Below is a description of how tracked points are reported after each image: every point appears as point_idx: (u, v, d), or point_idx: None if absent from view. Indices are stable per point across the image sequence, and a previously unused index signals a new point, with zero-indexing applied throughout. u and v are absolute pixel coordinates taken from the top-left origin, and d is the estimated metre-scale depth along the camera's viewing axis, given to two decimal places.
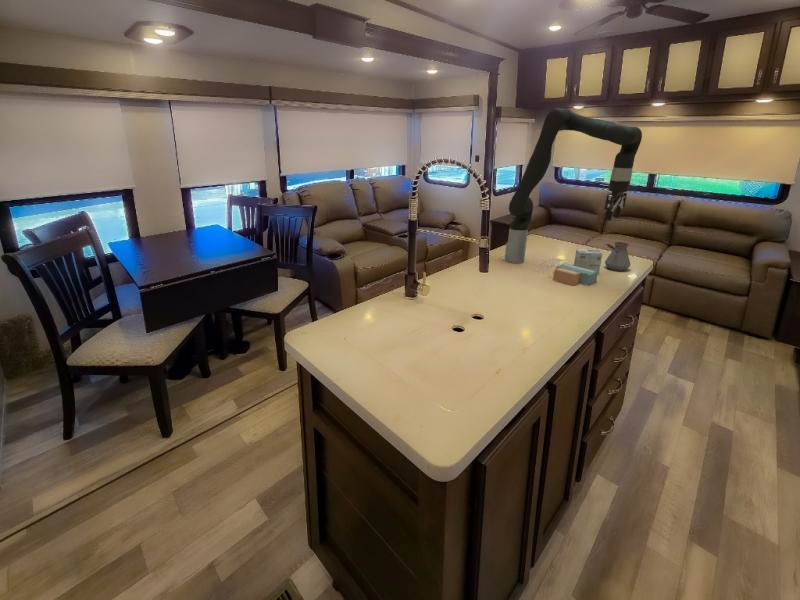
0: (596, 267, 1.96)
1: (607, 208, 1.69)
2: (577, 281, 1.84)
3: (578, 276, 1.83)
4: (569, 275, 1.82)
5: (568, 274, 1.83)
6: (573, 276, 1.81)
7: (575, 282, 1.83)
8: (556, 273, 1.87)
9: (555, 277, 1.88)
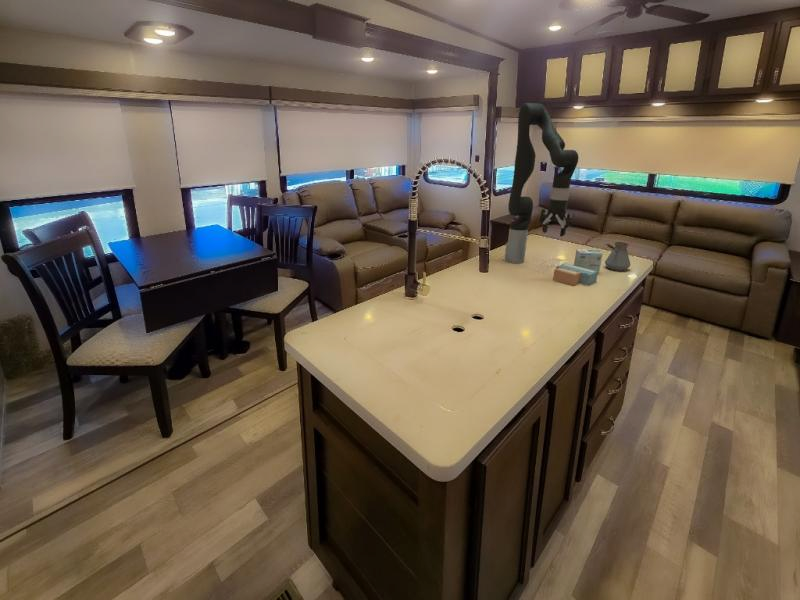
0: (596, 267, 1.96)
1: (569, 225, 1.80)
2: (577, 281, 1.84)
3: (578, 276, 1.83)
4: (569, 275, 1.82)
5: (568, 274, 1.83)
6: (573, 276, 1.81)
7: (575, 282, 1.83)
8: (556, 273, 1.87)
9: (555, 277, 1.88)
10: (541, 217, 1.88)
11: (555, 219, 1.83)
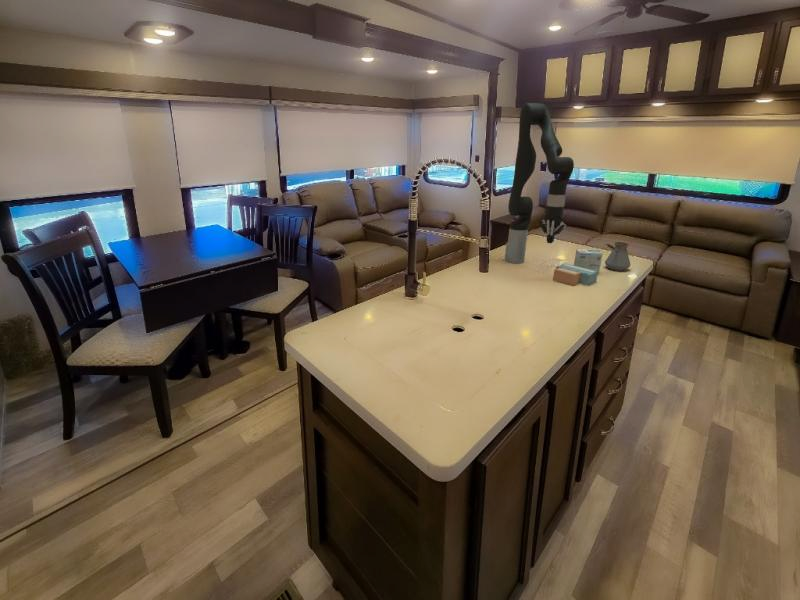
0: (596, 267, 1.96)
1: None
2: (577, 281, 1.84)
3: (578, 276, 1.83)
4: (569, 275, 1.82)
5: (568, 274, 1.83)
6: (573, 276, 1.81)
7: (575, 282, 1.83)
8: (556, 273, 1.87)
9: (555, 277, 1.88)
10: (543, 228, 1.88)
11: (550, 223, 1.85)
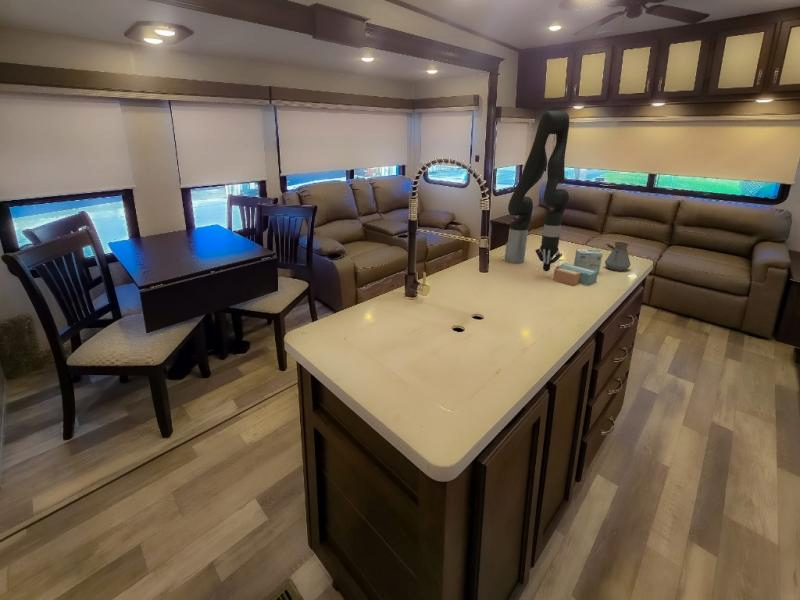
0: (596, 267, 1.96)
1: (553, 261, 1.89)
2: (577, 281, 1.84)
3: (578, 276, 1.83)
4: (569, 275, 1.82)
5: (568, 274, 1.83)
6: (573, 276, 1.81)
7: (575, 282, 1.83)
8: (556, 273, 1.87)
9: (555, 277, 1.88)
10: (539, 256, 1.93)
11: (546, 252, 1.90)
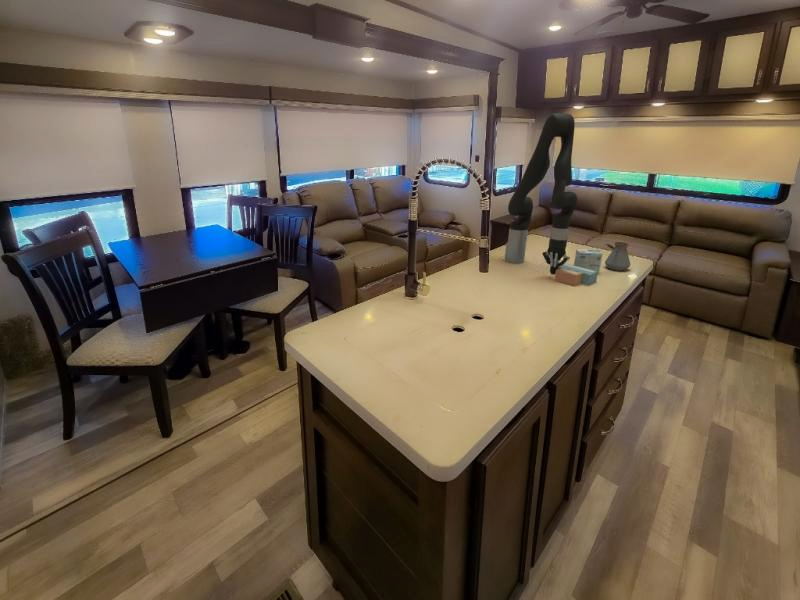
0: (596, 267, 1.96)
1: None
2: (579, 281, 1.83)
3: (580, 276, 1.82)
4: (571, 275, 1.82)
5: (570, 274, 1.82)
6: (575, 276, 1.81)
7: (577, 282, 1.82)
8: (558, 273, 1.86)
9: (557, 277, 1.87)
10: (546, 259, 1.90)
11: (553, 255, 1.87)
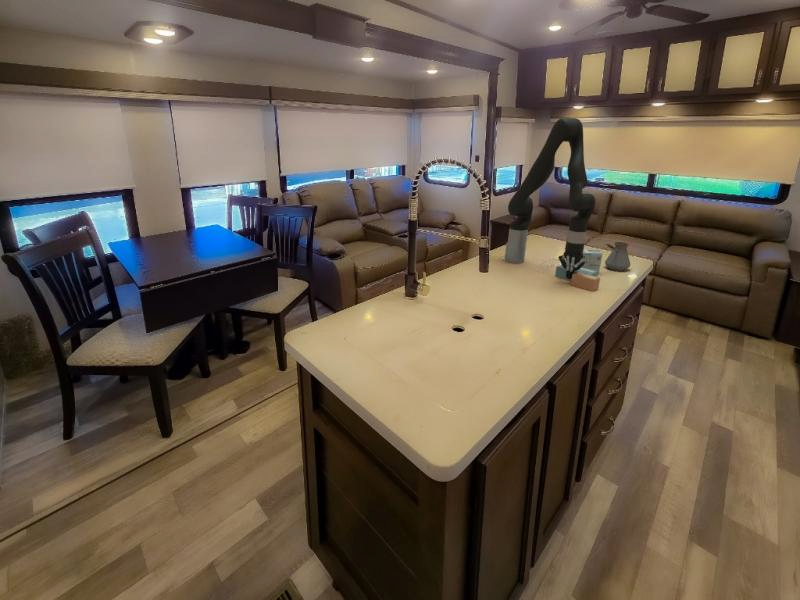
0: (596, 267, 1.96)
1: None
2: (596, 286, 1.78)
3: (598, 281, 1.77)
4: (588, 280, 1.76)
5: (587, 279, 1.77)
6: (593, 281, 1.75)
7: (594, 287, 1.77)
8: (575, 278, 1.81)
9: (574, 282, 1.82)
10: (562, 263, 1.85)
11: (570, 259, 1.82)
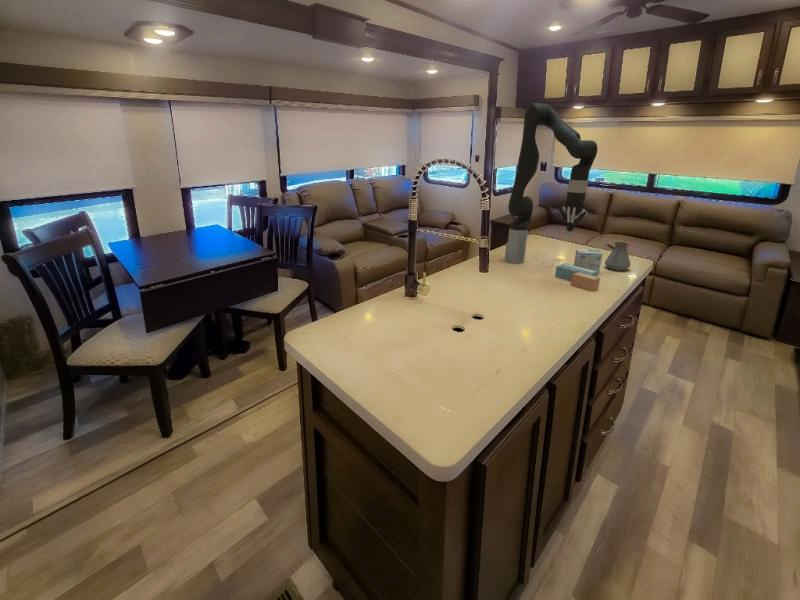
0: (596, 267, 1.96)
1: None
2: (596, 286, 1.78)
3: (598, 281, 1.77)
4: (588, 280, 1.76)
5: (587, 279, 1.77)
6: (593, 281, 1.75)
7: (594, 287, 1.77)
8: (575, 278, 1.81)
9: (574, 282, 1.82)
10: (563, 215, 1.81)
11: (570, 210, 1.77)
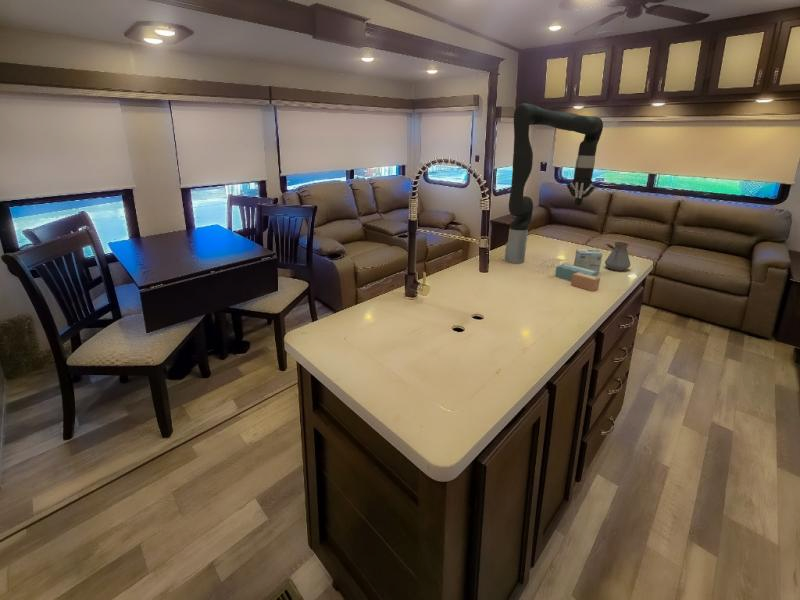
0: (596, 267, 1.96)
1: None
2: (596, 286, 1.78)
3: (598, 281, 1.77)
4: (588, 280, 1.76)
5: (587, 279, 1.77)
6: (593, 281, 1.75)
7: (594, 287, 1.77)
8: (575, 278, 1.81)
9: (574, 282, 1.82)
10: (571, 191, 1.86)
11: (578, 185, 1.83)
